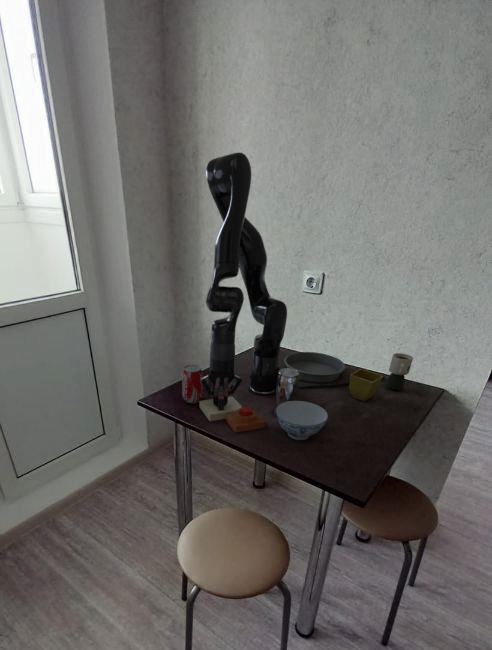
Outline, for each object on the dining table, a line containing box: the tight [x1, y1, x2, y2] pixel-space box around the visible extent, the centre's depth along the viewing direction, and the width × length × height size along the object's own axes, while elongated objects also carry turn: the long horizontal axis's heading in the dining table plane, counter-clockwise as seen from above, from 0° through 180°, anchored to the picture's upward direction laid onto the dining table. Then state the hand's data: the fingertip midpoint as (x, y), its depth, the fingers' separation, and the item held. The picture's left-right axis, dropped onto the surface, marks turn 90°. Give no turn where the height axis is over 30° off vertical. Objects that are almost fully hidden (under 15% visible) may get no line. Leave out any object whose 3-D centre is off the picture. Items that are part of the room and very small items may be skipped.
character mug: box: [385, 352, 414, 391], centre depth 152 cm, size 11×7×13 cm, turn 165°
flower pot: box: [348, 368, 384, 402], centre depth 145 cm, size 9×9×9 cm
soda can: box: [181, 364, 204, 404], centre depth 137 cm, size 7×7×12 cm
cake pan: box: [283, 351, 346, 384], centre depth 165 cm, size 25×25×4 cm
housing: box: [225, 409, 266, 433], centre depth 126 cm, size 10×8×4 cm
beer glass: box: [273, 367, 300, 417], centre depth 130 cm, size 7×7×15 cm
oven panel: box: [199, 395, 243, 422], centre depth 133 cm, size 12×11×3 cm
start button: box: [240, 405, 253, 416], centre depth 125 cm, size 4×4×2 cm
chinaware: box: [276, 400, 328, 441], centre depth 121 cm, size 15×15×8 cm
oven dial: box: [218, 391, 224, 411], centre depth 130 cm, size 6×2×4 cm, turn 8°
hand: (220, 405), depth 131 cm, fingers closed on oven dial, 2 cm apart
